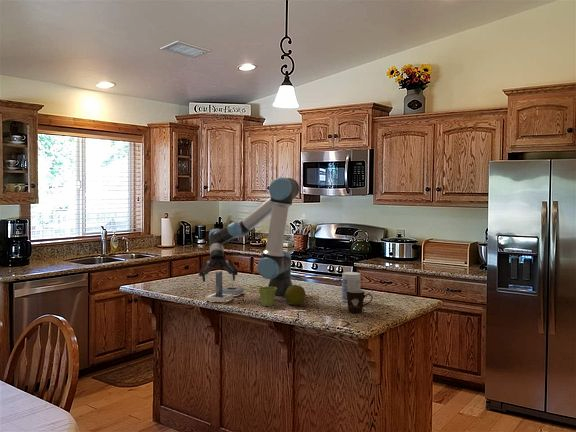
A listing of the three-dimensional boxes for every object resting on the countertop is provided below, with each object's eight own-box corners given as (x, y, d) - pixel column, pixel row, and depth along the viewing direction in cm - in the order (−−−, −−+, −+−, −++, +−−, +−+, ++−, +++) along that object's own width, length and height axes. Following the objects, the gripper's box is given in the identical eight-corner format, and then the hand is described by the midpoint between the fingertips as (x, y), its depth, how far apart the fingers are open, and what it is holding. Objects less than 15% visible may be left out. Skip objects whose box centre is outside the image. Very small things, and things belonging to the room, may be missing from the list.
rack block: (233, 299, 276) (233, 294, 276) (224, 303, 265) (224, 298, 265) (214, 297, 279) (214, 293, 279) (204, 302, 269) (204, 297, 268)
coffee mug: (342, 312, 244) (342, 291, 244) (351, 309, 252) (351, 288, 251) (365, 315, 238) (365, 294, 237) (373, 312, 245) (373, 291, 245)
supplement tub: (339, 302, 268) (339, 273, 267) (345, 299, 276) (345, 271, 276) (357, 304, 264) (357, 275, 263) (362, 300, 272) (362, 272, 272)
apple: (284, 306, 257) (284, 284, 257) (286, 302, 267) (286, 281, 266) (304, 307, 256) (304, 285, 256) (306, 303, 266) (306, 281, 265)
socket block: (243, 293, 291) (243, 287, 290) (236, 297, 281) (236, 290, 281) (227, 292, 294) (227, 286, 293) (219, 296, 284) (219, 289, 284)
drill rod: (223, 300, 273) (223, 271, 273) (220, 301, 270) (220, 272, 269) (217, 299, 274) (217, 271, 274) (214, 301, 271) (214, 272, 271)
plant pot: (254, 305, 261) (254, 287, 261) (269, 302, 267) (269, 285, 267) (265, 308, 254) (265, 290, 254) (280, 305, 260) (280, 288, 260)
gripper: (239, 257, 289) (242, 288, 275) (193, 258, 284) (194, 290, 270) (240, 248, 283) (244, 280, 269) (193, 249, 278) (195, 282, 264)
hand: (219, 285), depth 270 cm, fingers open, 13 cm apart
